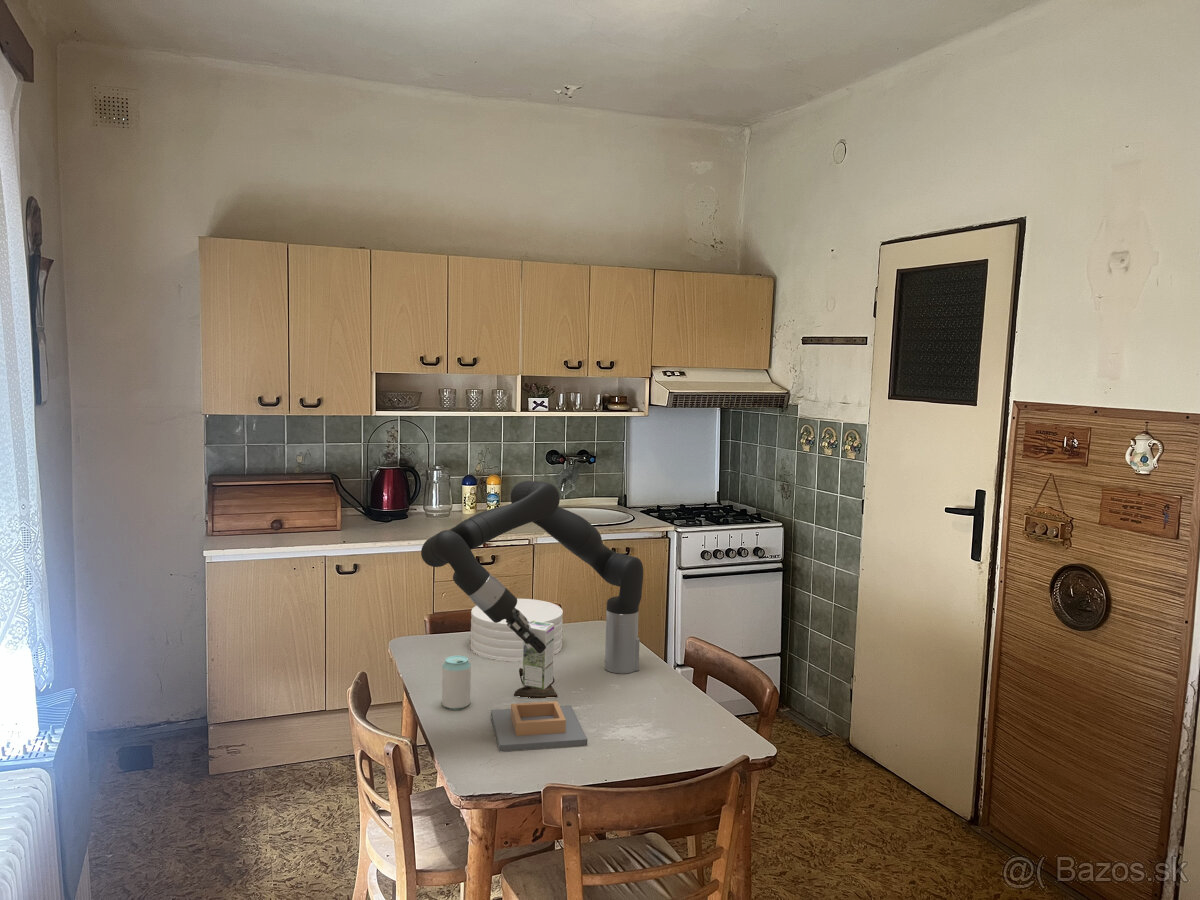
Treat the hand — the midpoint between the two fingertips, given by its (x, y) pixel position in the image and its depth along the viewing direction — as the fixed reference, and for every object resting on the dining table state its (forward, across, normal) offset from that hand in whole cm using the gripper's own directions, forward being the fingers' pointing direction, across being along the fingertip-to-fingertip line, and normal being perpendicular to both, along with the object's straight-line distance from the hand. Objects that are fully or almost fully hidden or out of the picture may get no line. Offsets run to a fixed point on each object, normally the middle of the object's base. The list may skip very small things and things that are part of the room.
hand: (540, 644), depth 198 cm
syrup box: (+7, 0, +7) cm, 10 cm away
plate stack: (+17, +62, +13) cm, 65 cm away
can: (+2, +18, +28) cm, 33 cm away
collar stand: (+15, 0, +15) cm, 21 cm away
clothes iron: (+17, +22, +13) cm, 31 cm away
